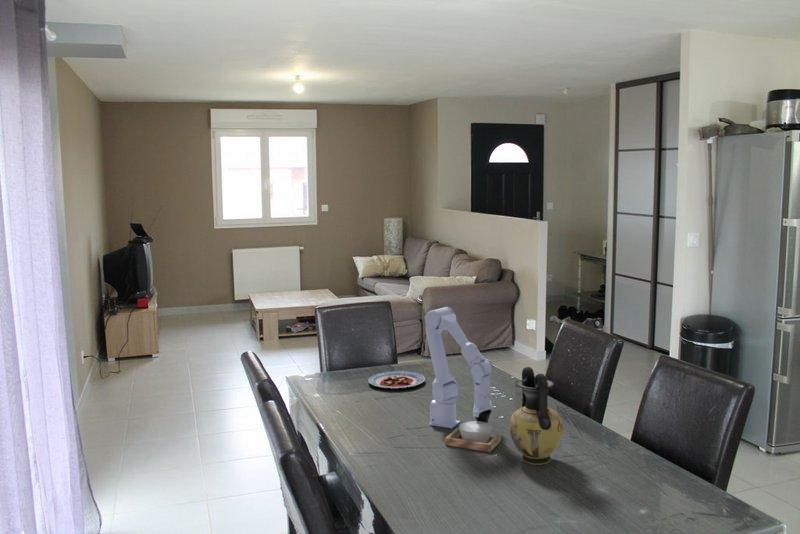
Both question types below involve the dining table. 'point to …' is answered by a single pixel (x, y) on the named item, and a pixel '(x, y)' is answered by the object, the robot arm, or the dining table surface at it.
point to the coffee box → (518, 396)
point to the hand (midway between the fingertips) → (482, 430)
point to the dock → (471, 442)
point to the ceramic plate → (396, 379)
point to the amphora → (535, 420)
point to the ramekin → (475, 431)
